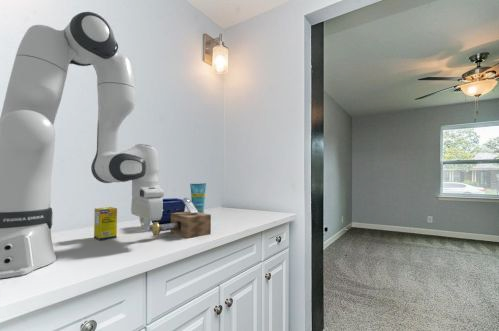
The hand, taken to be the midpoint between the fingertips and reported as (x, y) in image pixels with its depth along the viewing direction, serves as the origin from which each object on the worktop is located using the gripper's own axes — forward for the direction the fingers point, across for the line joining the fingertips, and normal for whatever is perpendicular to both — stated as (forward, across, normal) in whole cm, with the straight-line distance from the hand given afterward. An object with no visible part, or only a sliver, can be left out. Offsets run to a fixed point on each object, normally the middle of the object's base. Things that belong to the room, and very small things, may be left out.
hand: (145, 230), depth 89 cm
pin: (+2, 0, +10) cm, 10 cm away
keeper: (-7, -1, +18) cm, 19 cm away
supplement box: (+4, -14, -9) cm, 17 cm away
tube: (+4, -11, +28) cm, 30 cm away
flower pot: (+4, -19, +17) cm, 26 cm away
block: (+4, 0, +18) cm, 18 cm away
